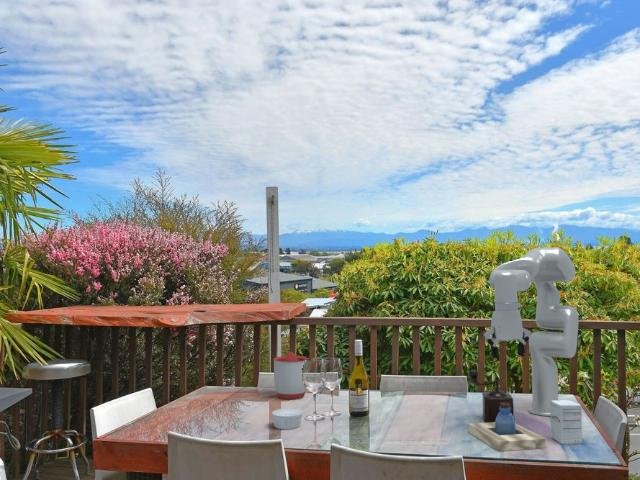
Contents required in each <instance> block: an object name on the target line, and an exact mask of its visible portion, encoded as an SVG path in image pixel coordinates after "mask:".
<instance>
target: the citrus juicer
mask: <svg viewBox="0 0 640 480" xmlns="http://www.w3.org/2000/svg"><path fill="white" fill-rule="evenodd" d="M305 360H307V361H308V357H307V356H302V355H295V353H294V352H293V351H289V352H288V353H287V354H286V355H283V356H281V355H280V356H276V357H273V381H274V388H275V393H276V394H277V397H278V398H280V399H281V400H286V399H289V400H290V399H294V400H296V399H297V400H300V399H301V398H304V397H305V394H306V392H307V388H305V386H304V385H303V383H302V377H301V373H302V368H303V365H304V362H305Z"/></svg>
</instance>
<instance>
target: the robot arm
mask: <svg viewBox="0 0 640 480" xmlns="http://www.w3.org/2000/svg"><path fill="white" fill-rule="evenodd" d="M575 276H576V267H575V264H574V262H573V261H572V259H571V258H570V256H569V255H568V254H567V253H566V252H565V251H564V250H563V248H560V247H555V246H554V247H535V248H534V247H533V248H532V249H529V251H528V252H526V253H525V254H524V255H523V256H522V257H520V258H517V259H515V260H511V261H507V262H505V263H504V262H503V263H502V264H499V265H498V266H497V267H495V268H494V269H493V270H492V271H491V273H490V276H489V285H490V287H491V288H492V289H493V290H494V309H495V310H494V311H492V314H491V325H490V329H489V330H488V331H485V332H484V333H483V338H484V339H485V342H487V344H488V345H489V346H490V353H491V354H490V355H491V357H492V358H494V359H498V358H499V347H498V346H497V345H498V344H499V343H500V342H505V341H517V346H516V347H517V356H520V357H524V356H525V352H526V351H525V345H527V342H528V347H529V352H530V359H531V381H532V383H531V384H532V385H531V386H532V387H531V388H532V389H531V393H532V394H531V397H532V406H529V407H528V412H529V413H530V414H533V415H535V416H536V415H537V416H543V417H551V401H553V400H559V384H558V383H559V382H558V381H559V380H558V379H559V375H558V374H559V373H558V372H559V371H558V365H557V364H556V362H555V361H554V359H553V358H562V359H564V358H565V359H570V358H573V357H575V355H576V353H577V348H578V345H577V344H578V333H579V332H578V331H579V319H580V318H579V312H578V310H577V309H576V308H575V307H574V306H572V305H571V306H570V305H561V304H560V302H561V293H560V291H559V289H558V288H557V287H556V286H555V284H553V282H555V283H556V282H557V283H558V282H561V283H562V282H564V283H565V282H570V281H573V280H574V278H575ZM532 282H533V283H534V286H535V289H536V293H537V297H536V310H535V324H536V325H537V327H538V328H541V329H546V330H557V331H558V330H561V331H563V332H555V331H543V330H542V331H540V330H539V331H535V332H533V333H532V331H531V330H529V329H527V328H525V327H523V320H522V316H521V312H520V311H519V308H521V306H522V304H521V303H519V302H518V301H519V300H518V292H524V291H527V290H528V289H530V288H531V285H532Z"/></svg>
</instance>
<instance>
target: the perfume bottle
mask: <svg viewBox="0 0 640 480" xmlns="http://www.w3.org/2000/svg"><path fill="white" fill-rule="evenodd" d="M500 406H501V407H500V411H501V412H499V413H498V415H497V417H496V421H495V433H496V434H498V435H513V434H515V423H516V419H515V416H514V417H513V415H512V413H510V407H509V406H510V404H509V403H500Z"/></svg>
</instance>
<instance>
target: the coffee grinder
mask: <svg viewBox="0 0 640 480" xmlns="http://www.w3.org/2000/svg"><path fill="white" fill-rule="evenodd" d="M467 375H468V377H470V379H471V383H473V384H475V385H476V386H487V385H493V384H495V387H494V389H492V390H490V391H488V392H486V391H485V392H482V415H481V416H482V421H483V423H489V422H495V421H496V417H497V415H498V413H499V412H501V411H500V407H501V406H500V403H509V404H510V406H509V407H510V413H512V415H513V417H514V418H515V415H514V398H513V397H512V395H511V393H509V392H505V391H503V390H501V389H499V383H500V380H499V378H500V377H499V376H498V375H496V376H494V377H495V380H493V381H488V382H487V381H486V382H479V381H480V380H479V379H478V377H479V376H478V375H479V372H478V370H476V369H471V370H469V371H468V373H467Z"/></svg>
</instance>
